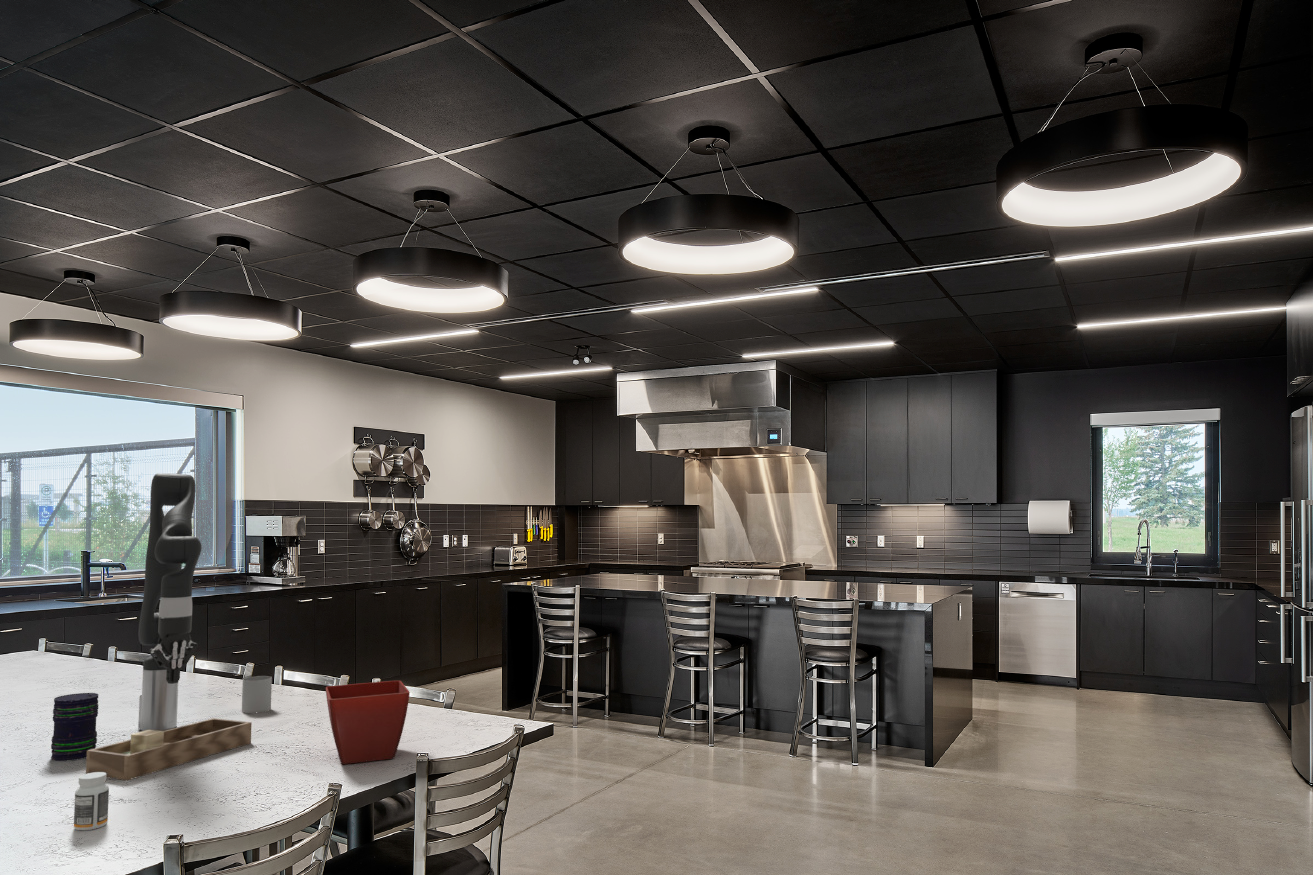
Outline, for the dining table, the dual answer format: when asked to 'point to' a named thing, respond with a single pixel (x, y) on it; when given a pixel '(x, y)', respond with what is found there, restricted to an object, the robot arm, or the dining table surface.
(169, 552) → the robot arm
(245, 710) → the cup
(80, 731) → the storage jar
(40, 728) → the dining table surface
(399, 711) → the plant pot
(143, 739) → the maple block
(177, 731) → the long open wooden box
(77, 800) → the pill bottle
